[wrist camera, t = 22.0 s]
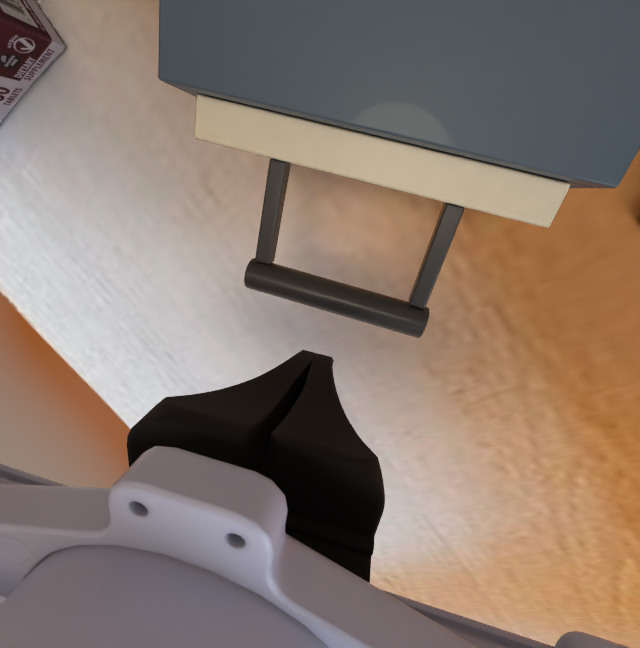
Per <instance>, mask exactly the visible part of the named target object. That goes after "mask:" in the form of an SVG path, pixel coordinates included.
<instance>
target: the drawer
mask: <svg viewBox="0 0 640 648" xmlns="http://www.w3.org/2000/svg"><path fill="white" fill-rule="evenodd" d="M194 136H195V138H196V139H198V140H202V141H206V142H210V143H214V144H218V145H222V146H225V147H229V148H233V149H237V150H241V151H245V152H249V153H253V154H257V155H260V156H264V157H268V158H272V159H270V163H269V170H268V176H267V183H266V190H265V197H264V204H263V210H262V217H261V224H260V231H259V237H258V244H257V251H256V258H253V259H252V260H251V261H250V262H249V264H248V266H247V269H246V272H245V278H244V282H245V286H246V287H247V288H250V289H254V290H257V291H260V292H264V293H267V294H271V295H274V296H277V297H281V298H284V299H288V300H291V301H294V302H298V303H301V304H305V305H308V306H311V307H315V308H318V309H321V310H325V311H328V312H332V313H335V314H338V315H342V316H345V317H349V318H352V319H355V320H359V321H362V322H366V323H369V324H372V325H376V326H379V327H382V328H386V329H389V330H393V331H396V332H399V333H403V334H406V335H410V336H413V337H416V338H420V337H421V336H422V334H423V332H424V330H425V328H426V325H427V322H428V318H429V308H428V307H426V305H427V302H428V300H429V297H430V295H431V292H432V290H433V287H434V285H435V282H436V280H437V277H438V275H439V272H440V270H441V267H442V264H443V262H444V259H445V257H446V254H447V252H448V249H449V247H450V244H451V242H452V239H453V237H454V234H455V232H456V229H457V227H458V224H459V222H460V219H461V216H462V214H463V211H464V207H465V208H469V209H473V210H477V211H481V212H485V213H489V214H493V215H497V216H501V217H505V218H509V219H513V220H517V221H521V222H525V223H529V224H533V225H537V226H541V227H545V228H546V227H549V226H550V224H551V222H552V220H553V219H554V217H555V215H556V213H557V211H558V209H559V207H560V205H561V203H562V201H563V199H564V197H565V195H566V193H567V191H568V189H569V187H570V184H569V183H568V182H564V181H560V180H556V179H551V178H547V177H543V176H539V175H535V174H531V173H526V172H522V171H518V170H514V169H510V168H506V167H501V166H497V165H493V164H489V163H485V162H480V161H476V160H472V159H468V158H464V157H460V156H455V155H451V154H447V153H443V152H439V151H435V150H430V149H426V148H422V147H418V146H414V145H410V144H405V143H401V142H397V141H393V140H389V139H384V138H380V137H376V136H372V135H368V134H364V133H359V132H355V131H351V130H347V129H343V128H339V127H334V126H330V125H326V124H322V123H318V122H314V121H309V120H305V119H301V118H297V117H293V116H288V115H284V114H280V113H276V112H272V111H268V110H263V109H259V108H255V107H251V106H247V105H243V104H238V103H234V102H230V101H226V100H222V99H218V98H213V97H209V96H205V95H201V94H198V95H197V97H196V114H195V131H194ZM290 163H292V164H296V165H300V166H304V167H308V168H312V169H316V170H320V171H323V172H327V173H331V174H335V175H339V176H343V177H347V178H351V179H355V180H359V181H363V182H367V183H371V184H375V185H379V186H383V187H386V188H390V189H394V190H398V191H402V192H406V193H410V194H414V195H418V196H422V197H426V198H430V199H434V200H438V201H442V202H446V203H444V205H443V207H442V210H441V213H440V215H439V218H438V221H437V224H436V226H435V229H434V232H433V234H432V237H431V240H430V243H429V245H428V248H427V251H426V253H425V256H424V259H423V262H422V264H421V267H420V270H419V272H418V275H417V278H416V281H415V283H414V286H413V289H412V291H411V294H410V297H409V302H407V301H403V300H400V299H396V298H393V297H389V296H386V295H382V294H379V293H375V292H372V291H368V290H365V289H361V288H358V287H354V286H351V285H347V284H344V283H340V282H337V281H333V280H330V279H326V278H323V277H319V276H316V275H312V274H309V273H305V272H302V271H298V270H295V269H291V268H288V267H284V266H281V265H277V264H274V263H272V262H273V261H274V258H275V252H276V246H277V240H278V235H279V229H280V223H281V217H282V211H283V206H284V200H285V194H286V188H287V182H288V177H289V171H290Z"/></svg>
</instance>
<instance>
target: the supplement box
mask: <svg viewBox="0 0 640 648" xmlns="http://www.w3.org/2000/svg"><path fill="white" fill-rule="evenodd" d="M64 49H65V45H64V44H63V42H62V41H61V40H60V38H59V37H58V35H57V34H56V32H55V31H54V29H53V27H52V26H51V24H50V23H49V21H48V20H47V18H46V17H45V15H44V14H43V12H42V11H41V9H40V8H39V6H38V5H37V3H36V2H35V0H0V123H1V122H2V120H3V119H4V118H5V117H6V115H7V114H8V113H9V112H10V110H11V109H12V108H13V107H14V105H15V104H16V103H17V102H18V100H19V99H20V98H21V97H22V96H23V94H24V93H25V92H26V91H27V90H28V88H29V87H30V86H31V85H32V84H33V83H34V81H35V80H36V79H37V78H38V77H39V76H40V75H41V73H42V72H43V71H44V70H45V69H46V68H47V67H48V66H49V65H50V63H51V62H52V61H53V60H54V59H55V58H56V57H57V56H58V55H59V54H60V53H61V52H62V51H63V50H64Z"/></svg>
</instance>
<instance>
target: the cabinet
mask: <svg viewBox="0 0 640 648" xmlns="http://www.w3.org/2000/svg"><path fill="white" fill-rule="evenodd" d="M158 77H159V79H160V80H161V81H163V82H165V83H168V84H170V85H172V86H174V87H177V88H179V89H181V90H183V91H185V92H187V93H189V94H191V95H193V96H195V97H197V95H198V94H201V95H205V96H209V97H213V98H218V99H222V100H226V101H230V102H234V103H238V104H243V105H247V106H251V107H255V108H259V109H263V110H268V111H272V112H276V113H280V114H284V115H288V116H293V117H297V118H301V119H305V120H309V121H314V122H318V123H322V124H326V125H330V126H334V127H339V128H343V129H347V130H351V131H355V132H359V133H364V134H368V135H372V136H376V137H380V138H384V139H389V140H393V141H397V142H401V143H405V144H410V145H414V146H418V147H422V148H426V149H430V150H435V151H439V152H443V153H447V154H451V155H455V156H460V157H464V158H468V159H472V160H476V161H480V162H485V163H489V164H493V165H497V166H501V167H506V168H510V169H514V170H518V171H522V172H526V173H531V174H535V175H539V176H543V177H547V178H551V179H556V180H560V181H564V182H568V183H569V184H570V187H569V188H616V187H617V186H618V185H619V183H620V182H621V180H622V178H623V176H624V175H625V173H626V171H627V169H628V167H629V166H630V164H631V162H632V160H633V159H634V157H635V155H636V153H637V152H638V150H639V148H640V0H160V11H159V74H158Z"/></svg>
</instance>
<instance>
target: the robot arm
mask: <svg viewBox="0 0 640 648" xmlns="http://www.w3.org/2000/svg"><path fill="white" fill-rule="evenodd" d="M333 361H334V360H333V359H332V357H329V356H325V355H321V354H317V353H313V352H309V351H305V350H302V351H301V352H299V353H297V354H296V355H294V356H293V357H292V358H290V359H289V360H287V361H285V362H284V363H282V364H281V365H279V366H277V367H276V368H274V369H272V370H270V371H268V372H267V373H265V374H263V375H261V376H259V377H256V378H254V379H252V380H249V381H246V382H244V383H241V384H238V385H234V386H231V387H227V388H224V389H220V390H216V391H211V392H206V393H200V394H194V395H185V396H175V397H166V398H164V399H163V400H162V401H161V402H160V403H158V404H157V405H156V406H155V407H154V408H153V409H152V410H151V411H149V412H148V413H147V414H146V415H145V416H144V417H143V418H142V419H141V420H140V421H139V422H138V423H137V424H136V425H135V426H133V427H132V428H131V430H130V432H129V434H128V438H127V449H128V460H129V469H128V470H127V471H126V472H125V473H124V474H123V475H122V476H121V477H120V478H119V479H118V480H117V481H116V482H115V483H114V485H113V486H112V487H111V488H90V487H69V486H66V485H63V484H60V483H57V482H54V481H51V480H48V479H45V478H42V477H39V476H36V475H33V474H30V473H27V472H24V471H21V470H18V469H14V468H11V467H9V466H5V465H3V464H0V648H629V647H627V646H624V645H621V644H617V643H614V642H611V641H608V640H605V639H602V638H599V637H596V636H593V635H590V634H586V633H583V632H577V631H574V632H567V633H565V634H564V635H562V636H561V637H560V638H559V640H558V641H557V643H556V645H555V647H553V646H550V645H547V644H544V643H541V642H538V641H535V640H532V639H529V638H526V637H523V636H520V635H517V634H514V633H511V632H508V631H505V630H502V629H499V628H496V627H493V626H489V625H486V624H483V623H480V622H477V621H474V620H471V619H468V618H465V617H462V616H459V615H456V614H453V613H450V612H447V611H444V610H441V609H438V608H435V607H432V606H429V605H426V604H423V603H420V602H417V601H414V600H411V599H408V598H405V597H402V596H399V595H396V594H393V593H390V592H387V591H384V590H381V589H379V588H377V587H375V586H374V585H372V584H370V565H371V556H372V554H373V549H374V535H375V533H376V530H377V527H378V524H379V522H380V519H381V516H382V513H383V510H384V504H385V494H384V485H383V479H382V473H381V469H380V464H379V460H378V458H377V456H376V455H375V454H374V453H373V452H372V451H371V450H370V449H369V448H368V447H367V446H366V445H365V443H364V442H363V441H362V440H361V439H360V437H359V436H358V435H357V433H356V432H355V430H354V429H353V427H352V425H351V424H350V422H349V420H348V419H347V417H346V415H345V413H344V410H343V408H342V406H341V403H340V401H339V398H338V394H337V391H336V387H335V383H334V378H333V368H332V366H333Z"/></svg>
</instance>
